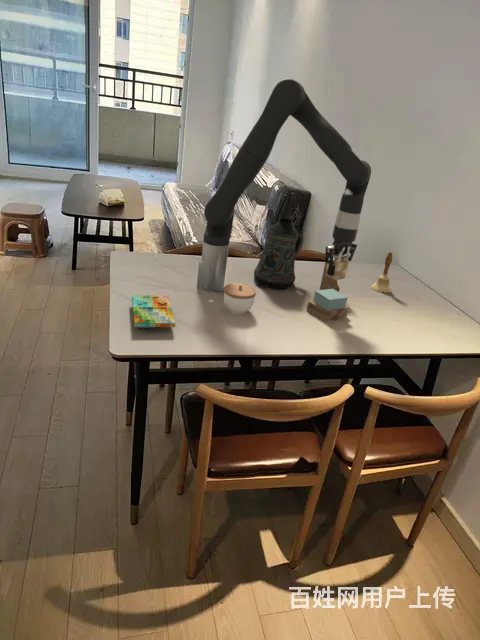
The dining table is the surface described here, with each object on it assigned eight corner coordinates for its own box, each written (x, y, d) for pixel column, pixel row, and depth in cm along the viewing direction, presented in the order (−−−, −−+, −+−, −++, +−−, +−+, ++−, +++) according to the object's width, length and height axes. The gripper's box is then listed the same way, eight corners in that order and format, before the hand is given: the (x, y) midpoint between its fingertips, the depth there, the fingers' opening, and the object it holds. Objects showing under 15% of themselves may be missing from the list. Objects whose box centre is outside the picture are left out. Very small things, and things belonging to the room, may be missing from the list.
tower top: (327, 310, 161) (329, 299, 159) (313, 301, 167) (315, 290, 166) (345, 308, 165) (347, 297, 163) (330, 298, 171) (332, 288, 169)
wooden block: (337, 299, 181) (348, 254, 173) (326, 298, 180) (336, 253, 173) (329, 289, 189) (339, 246, 181) (319, 289, 188) (328, 245, 180)
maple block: (336, 280, 158) (339, 263, 156) (324, 275, 162) (328, 258, 159) (345, 278, 161) (349, 261, 159) (334, 273, 165) (337, 256, 162)
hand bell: (384, 294, 192) (394, 257, 185) (367, 287, 198) (376, 250, 191) (395, 291, 198) (405, 254, 191) (378, 283, 203) (388, 248, 196)
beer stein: (247, 283, 184) (256, 220, 173) (262, 269, 201) (271, 210, 190) (287, 293, 180) (299, 229, 169) (300, 278, 197) (311, 219, 186)
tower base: (327, 323, 162) (330, 312, 160) (306, 311, 168) (308, 301, 166) (345, 317, 168) (348, 307, 166) (324, 306, 174) (326, 296, 173)
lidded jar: (237, 301, 168) (240, 276, 164) (259, 313, 161) (263, 287, 157) (215, 307, 160) (217, 282, 156) (236, 320, 154) (240, 293, 150)
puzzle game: (168, 293, 156) (175, 320, 139) (167, 306, 158) (174, 334, 141) (132, 292, 153) (134, 320, 135) (131, 305, 155) (133, 334, 138)
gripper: (351, 220, 161) (340, 267, 168) (323, 223, 152) (313, 273, 159) (369, 226, 156) (357, 275, 163) (341, 230, 147) (330, 281, 154)
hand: (335, 273), depth 161 cm, fingers closed on maple block, 5 cm apart
